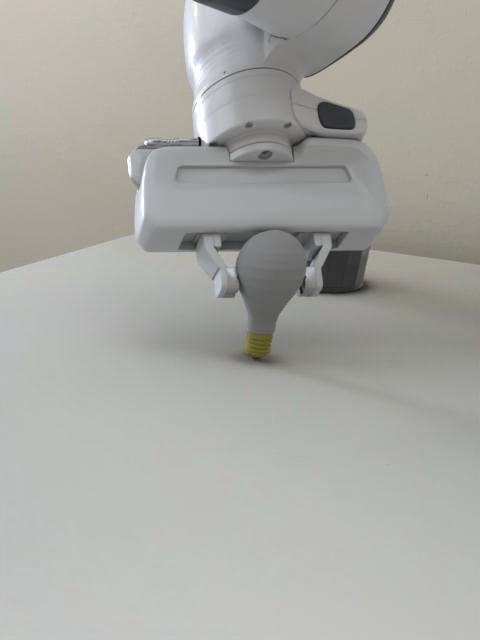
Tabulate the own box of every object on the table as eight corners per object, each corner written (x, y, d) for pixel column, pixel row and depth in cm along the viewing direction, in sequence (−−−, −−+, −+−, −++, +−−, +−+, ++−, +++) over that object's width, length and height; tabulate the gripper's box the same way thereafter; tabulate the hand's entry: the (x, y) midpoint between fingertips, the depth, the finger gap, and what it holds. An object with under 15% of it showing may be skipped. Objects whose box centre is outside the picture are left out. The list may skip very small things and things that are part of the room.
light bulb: (210, 351, 83) (227, 225, 78) (264, 345, 85) (285, 221, 80) (246, 372, 79) (267, 240, 74) (303, 365, 81) (327, 235, 75)
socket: (346, 271, 107) (355, 227, 105) (374, 293, 100) (384, 246, 97) (267, 271, 107) (274, 226, 104) (289, 292, 100) (298, 245, 97)
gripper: (134, 111, 77) (150, 273, 75) (385, 112, 79) (410, 270, 77) (117, 165, 83) (132, 316, 81) (351, 165, 85) (373, 312, 83)
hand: (269, 293), depth 79 cm, fingers closed on light bulb, 5 cm apart
